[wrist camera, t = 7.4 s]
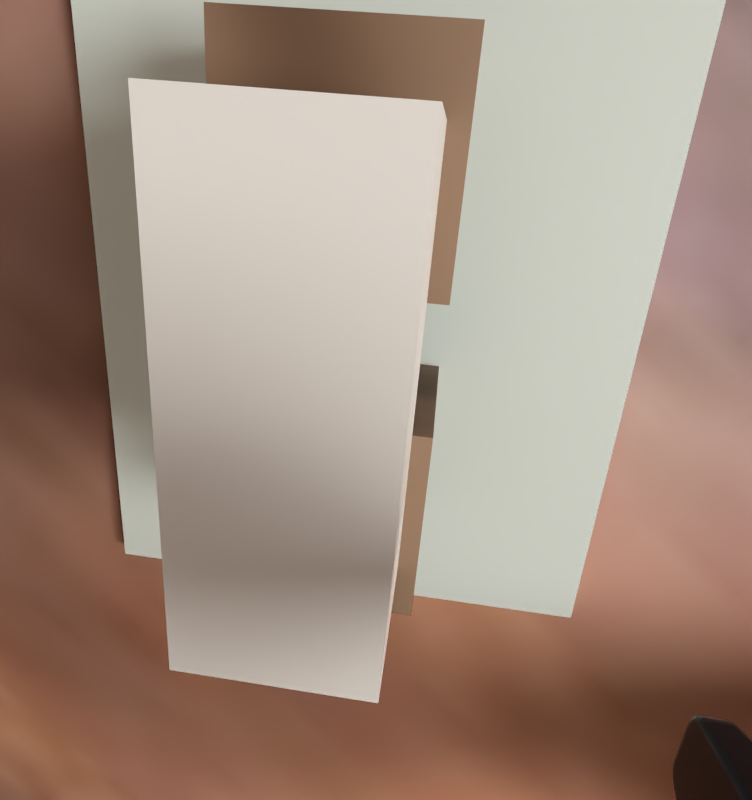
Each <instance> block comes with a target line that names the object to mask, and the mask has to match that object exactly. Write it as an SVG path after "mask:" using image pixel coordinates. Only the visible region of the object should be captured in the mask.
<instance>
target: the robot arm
mask: <svg viewBox="0 0 752 800" xmlns="http://www.w3.org/2000/svg"><path fill="white" fill-rule="evenodd" d="M673 783H674V789H675V794H676V799H677V800H752V740H751V739H750V738H749V737H748V736H747V735H746V734H745V733H744V732H743V731H742V730H741V729H740V728H739V727H738V726H737V725H735V724H734V723H733V722H731V721H729V720H726V719H720V718H714V717H708V716H703V715H696V716H694V717H693V718H692V719H691V720H690V722H689V723H688V726H687V729H686V731H685V734H684V737H683V739H682V742H681V744H680V747H679V750H678V752H677V755H676V758H675V761H674V765H673Z"/></svg>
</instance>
